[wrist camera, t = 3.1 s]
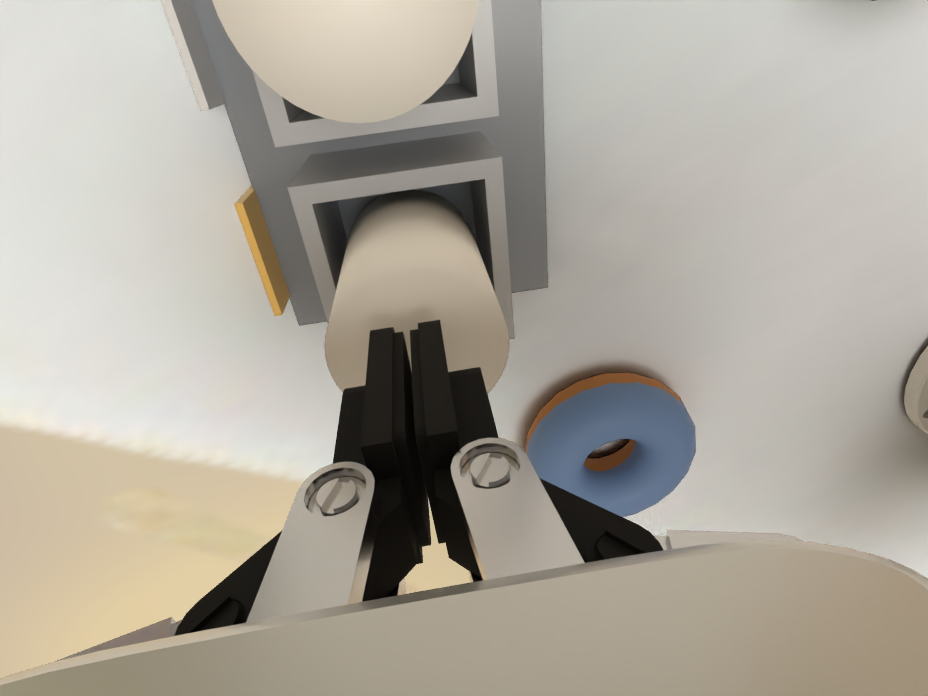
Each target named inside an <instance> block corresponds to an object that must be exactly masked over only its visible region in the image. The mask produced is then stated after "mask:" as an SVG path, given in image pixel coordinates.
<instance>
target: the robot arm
mask: <svg viewBox="0 0 928 696" xmlns="http://www.w3.org/2000/svg"><path fill="white" fill-rule="evenodd" d="M410 346H411V366H412V371H411V366H410V361H409V357H408V352H407V347H406V342H405V337H404V333H403V331H402V332H396V333H395V331H394V328H393V327H389V328H383V329H376V330H371V331H370V335H369V347H368V359H367V372H366V384H365V385H364V386H358V387H352V388H346V389H344V391H343V396H342V403H341V410H340V417H339V424H338V431H337V438H336V445H335V452H334V459H333V464H331V465H328V466H325V467H323V468H321V469H319V470H318V471H316V472H315V473H313V474H312V475H310V476H309V477H308V478H307V479H306V480H305V481H304V482H303V484H302V485H301V487H300V489H299V490H298V492H297V494H296V497H295V499H294V502H293V505H292V507H291V510H290V512H289V515H288V517H287V520H286V522H285V525H284V528H283V530H282V531H281V532H280V533H279V534H277V535H276V536H275V537H274V538H273V539H272V540H270V541H269V542H268V543H267V544H266V545H264V546H263V547H262V548H261V549H260V550H259V551H257V552H256V553H255V554H254V555H253V556H251V557H250V558H249V559H248V560H247V561H245V562H244V563H243V564H242V565H241V566H240V567H238V568H237V569H236V570H235V571H234V572H232V573H231V574H230V575H229V576H228V577H227V578H225V579H224V580H223V581H222V582H221V583H219V585H217V586H216V587H215V588H214V589H212V590H211V591H210V592H209V593H208V594H206V595H205V596H204V597H203V598H202V599H201V600H199V602H197V603H196V604H195V605H194V606H193V607H192V608H191V609H190V610H189V611H188V613H186V615H185V616H184V618H183V620H181V621H178V622H175V621H174V620H173V618H172V617H170V618H168V619H165V620H162V621H160V622H157V623H155V624H152V625H149V626H147V627H144V628H141V629H139V630H136V631H133V632H131V633H128V634H126V635H123V636H120V637H118V638H115V639H112V640H110V641H107V642H105V643H102V644H100V645H97V646H94V647H91V648H89V649H86V650H84V651H81V652H78V653H76V654H73V655H70V656H68V657H65V658H63V659H60V660H57V661H55V662H52V663H48V664H45V665H42V666H38V667H35V668H32V669H28V670H25V671H22V672H19V673H15V674H12V675H9V676H6V677H4V678H1V679H0V696H928V578H926V577H924V576H923V575H921V574H919V573H917V572H916V571H914V570H912V569H910V568H908V567H905V566H903V565H901V564H899V563H896V562H894V561H892V560H889V559H886V558H882V557H879V556H876V555H873V554H870V553H866V552H862V551H858V550H854V549H850V548H844V547H838V546H832V545H826V544H820V543H813V542H805V541H802V540H800V539H798V538H796V537H793V536H788V535H782V534H773V533H744V532H714V531H684V530H667V536H653V535H652V534H651V533H650V532H649V531H647V530H646V529H644V528H642V527H641V526H639V525H638V524H636V523H633V522H631V521H629V520H627V519H625V518H623V517H621V516H619V515H617V514H614V513H612V512H610V511H608V510H606V509H604V508H602V507H600V506H598V505H595V504H593V503H591V502H589V501H587V500H585V499H583V498H581V497H579V496H576V495H574V494H572V493H570V492H568V491H566V490H564V489H562V488H560V487H557V486H555V485H553V484H551V483H549V482H547V481H545V480H543V479H541V478H539V477H538V475H537V473H536V472H535V470H534V468H533V466H532V464H531V462H530V460H529V459H528V457H527V455H526V453H525V452H524V451H523V450H522V449H521V447H520V446H518V445H516V444H515V443H513V442H512V441H508V440H505V439H502V438H498V434H497V430H496V426H495V422H494V418H493V414H492V410H491V407H490V403H489V399H488V395H487V391H486V387H485V383H484V379H483V375H482V371H481V368H480V367H476V368H470V369H464V370H458V371H451V372H448V367H447V361H446V354H445V348H444V342H443V335H442V329H441V323H440V320H434V321H428V322H421V323H418V329H415V330H410ZM904 404H905V410H906V414H907V415H908V417H909V418H910V420H911V422H912V423H914V424H915V425H916V426H917V427H919V428H920V429H921V430H922V431H923V432H925V433H926V434H928V346H927V347H926V348H925V350H924V351H923V352H922V354H921V355H920V356H919V358H918V360H917V362H916V363H915V365H914V367H913V369H912V371H911V373H910V376H909V379H908V381H907V384H906V388H905V397H904ZM428 498H429V503H430V507H431V511H432V516H433V520H434V525H435V529H436V534H437V538H438V543H445V542H446V546H447V551H448V555H449V558H450V559H452V560H453V561H455V562H457V563H458V564H459V565H461V566H463V567H464V568H466V569H467V570H469V575H470V580H471V583H466V584H460V585H454V586H449V587H443V588H437V589H432V590H426V591H420V592H414V593H409V594H405V592H406V589H405V579H404V577H405V576H406V575H407V574H408V573H409V571H411V570H412V568H413V567H414V566H415V565H416V564H419V563H423V555H422V546H428V545H431V535H430V520H429V506H428Z"/></svg>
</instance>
